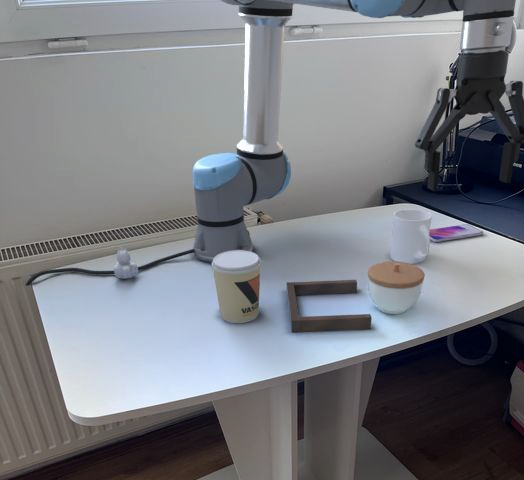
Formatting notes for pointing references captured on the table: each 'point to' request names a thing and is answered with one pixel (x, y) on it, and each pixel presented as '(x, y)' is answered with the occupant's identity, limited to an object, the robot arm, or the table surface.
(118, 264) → the grey lumpy figure
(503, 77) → the robot arm
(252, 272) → the coffee cup
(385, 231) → the table surface
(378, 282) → the trinket box
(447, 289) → the table surface
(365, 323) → the bay
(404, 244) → the mug
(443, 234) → the smartphone
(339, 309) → the table surface
